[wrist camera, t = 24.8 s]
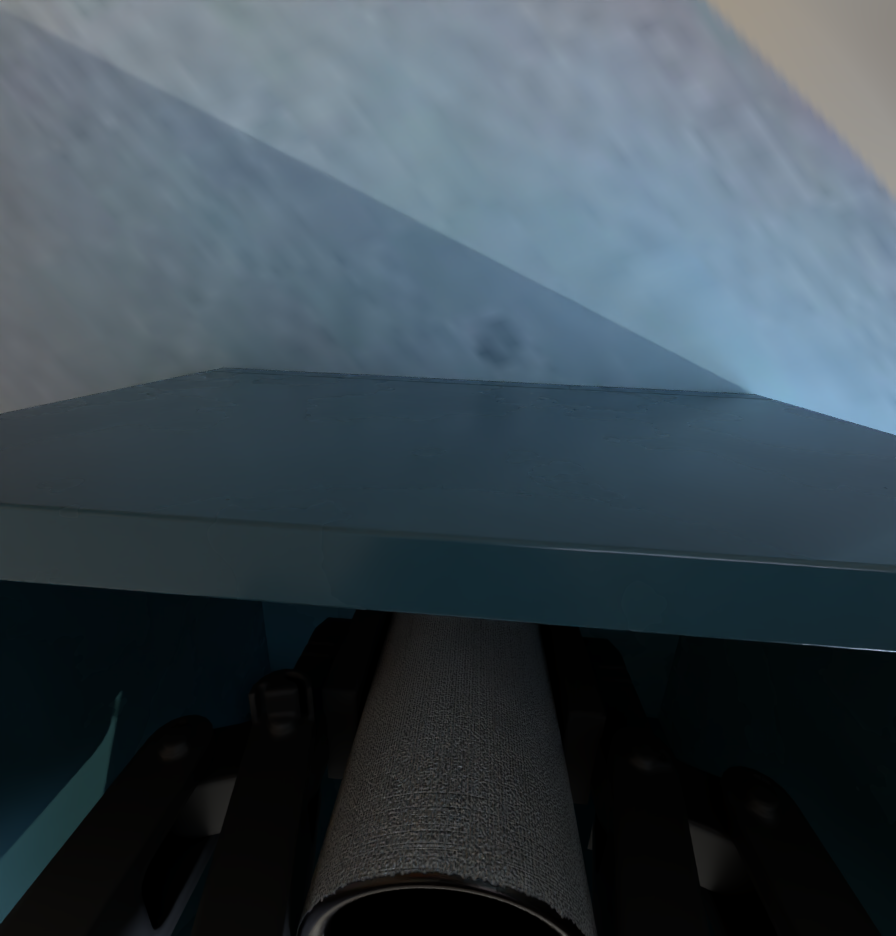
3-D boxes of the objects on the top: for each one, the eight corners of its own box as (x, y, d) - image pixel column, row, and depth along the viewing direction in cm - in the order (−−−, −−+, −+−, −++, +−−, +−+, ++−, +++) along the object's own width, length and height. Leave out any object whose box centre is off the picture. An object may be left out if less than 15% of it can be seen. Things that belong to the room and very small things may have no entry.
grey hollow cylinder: (386, 545, 16) (233, 909, 6) (503, 502, 15) (541, 851, 5) (436, 640, 17) (376, 1068, 7) (547, 607, 16) (644, 1042, 7)
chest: (263, 679, 20) (26, 1076, 10) (221, 367, 15) (-334, 481, 5) (667, 716, 19) (891, 1204, 9) (757, 394, 14) (1499, 610, 4)
